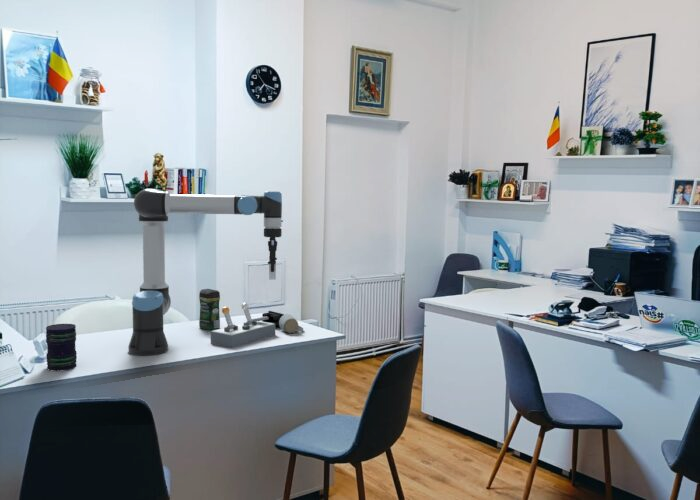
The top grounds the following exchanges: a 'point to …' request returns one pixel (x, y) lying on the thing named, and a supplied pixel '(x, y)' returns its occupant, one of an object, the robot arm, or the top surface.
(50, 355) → the storage jar
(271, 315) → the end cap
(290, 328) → the ceramic mug
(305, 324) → the top surface
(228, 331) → the console
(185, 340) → the top surface
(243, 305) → the silver ball lever
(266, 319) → the rocker grey
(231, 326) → the lever orange
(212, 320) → the coffee jar
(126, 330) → the top surface
